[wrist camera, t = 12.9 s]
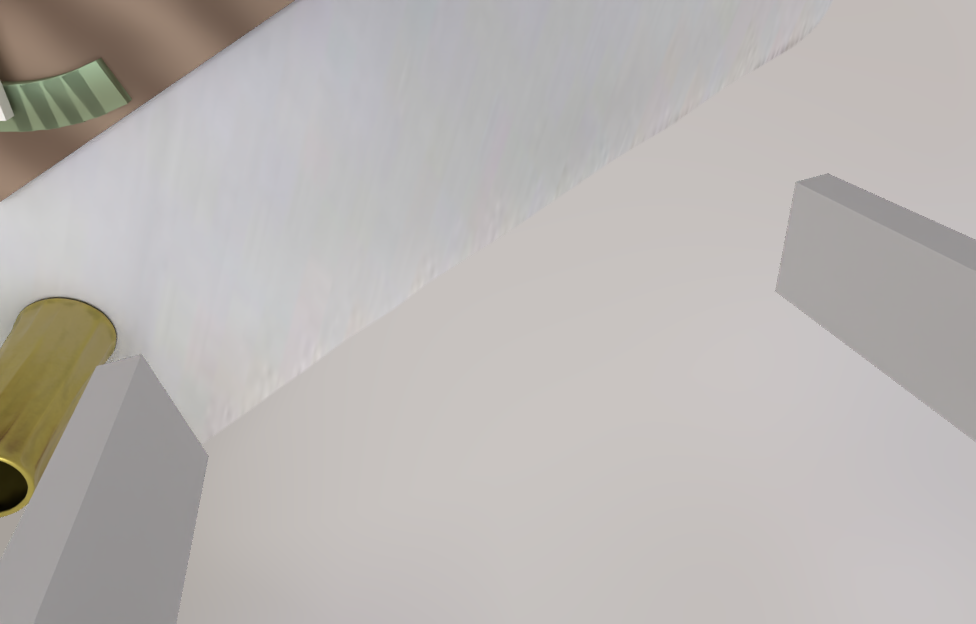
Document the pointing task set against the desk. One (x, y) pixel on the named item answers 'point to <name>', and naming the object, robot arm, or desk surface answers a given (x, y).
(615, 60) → the desk surface
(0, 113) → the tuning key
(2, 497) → the vase
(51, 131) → the brown flat square board
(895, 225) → the robot arm
